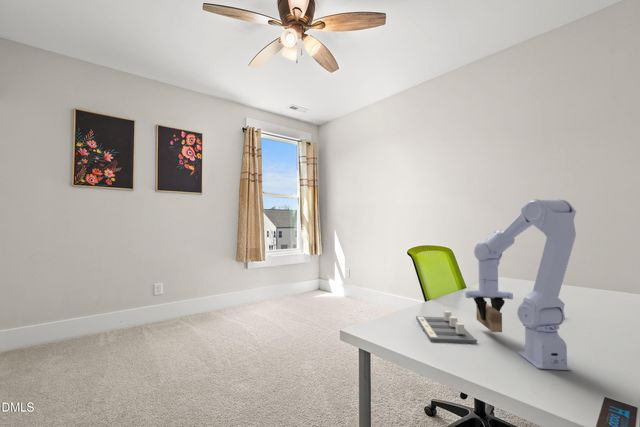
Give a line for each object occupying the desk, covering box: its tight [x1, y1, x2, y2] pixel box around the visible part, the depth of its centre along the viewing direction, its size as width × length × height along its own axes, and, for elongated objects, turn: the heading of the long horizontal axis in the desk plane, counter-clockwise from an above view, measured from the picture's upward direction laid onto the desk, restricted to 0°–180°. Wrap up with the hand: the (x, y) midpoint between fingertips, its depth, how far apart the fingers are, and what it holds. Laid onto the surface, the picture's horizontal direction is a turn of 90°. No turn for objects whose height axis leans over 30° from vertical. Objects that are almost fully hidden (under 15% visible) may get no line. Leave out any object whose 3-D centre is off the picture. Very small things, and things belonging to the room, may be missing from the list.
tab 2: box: [449, 315, 458, 327], centre depth 104 cm, size 2×2×3 cm
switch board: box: [415, 315, 478, 344], centre depth 105 cm, size 22×14×1 cm, turn 173°
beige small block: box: [456, 321, 465, 334], centre depth 98 cm, size 2×2×3 cm
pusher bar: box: [475, 304, 503, 333], centre depth 100 cm, size 12×3×6 cm, turn 173°
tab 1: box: [443, 310, 452, 321], centre depth 111 cm, size 2×2×3 cm
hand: (488, 319), depth 100 cm, fingers closed on pusher bar, 3 cm apart
